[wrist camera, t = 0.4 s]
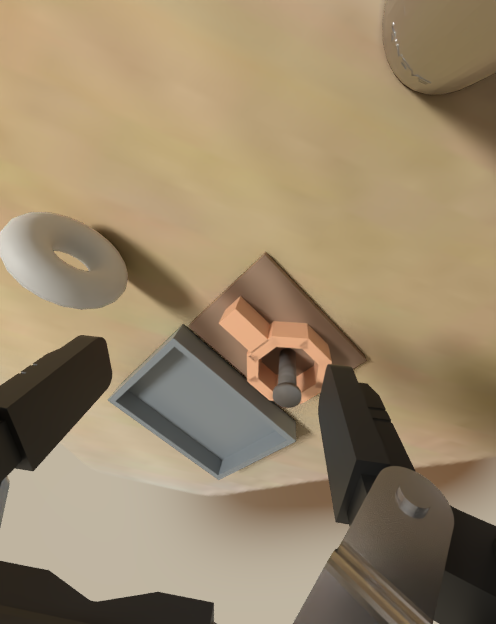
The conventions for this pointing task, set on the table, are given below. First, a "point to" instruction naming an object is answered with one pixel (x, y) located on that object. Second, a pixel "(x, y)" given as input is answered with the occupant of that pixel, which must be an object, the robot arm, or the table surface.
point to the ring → (266, 337)
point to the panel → (272, 307)
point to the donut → (55, 272)
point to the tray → (203, 406)
